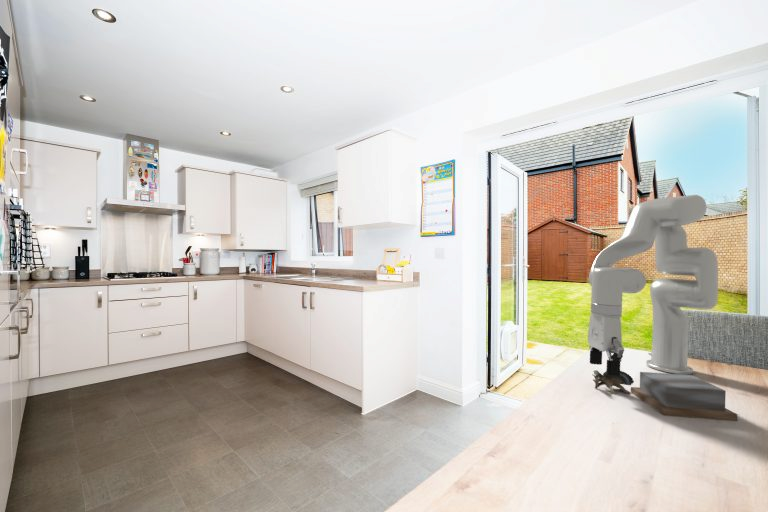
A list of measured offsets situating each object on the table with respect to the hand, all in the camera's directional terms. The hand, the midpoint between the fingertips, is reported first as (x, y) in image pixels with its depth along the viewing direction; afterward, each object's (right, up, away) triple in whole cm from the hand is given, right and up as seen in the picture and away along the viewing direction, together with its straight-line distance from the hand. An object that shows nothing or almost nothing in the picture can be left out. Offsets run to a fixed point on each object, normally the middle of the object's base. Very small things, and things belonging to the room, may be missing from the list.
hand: (603, 369), depth 98 cm
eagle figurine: (+2, -7, 0) cm, 7 cm away
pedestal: (+14, -7, -9) cm, 18 cm away
